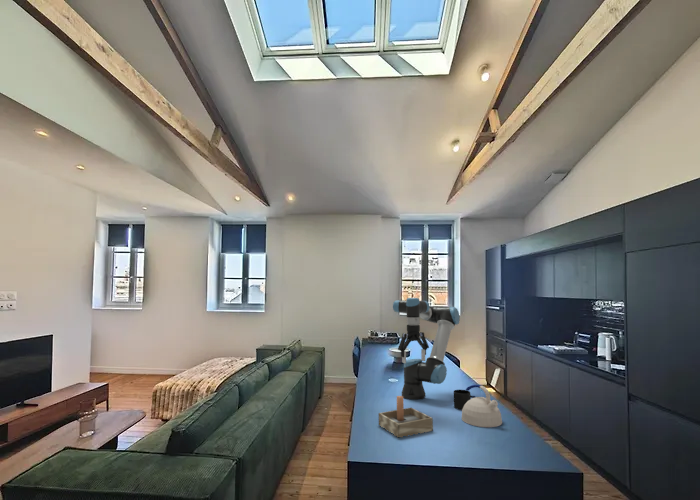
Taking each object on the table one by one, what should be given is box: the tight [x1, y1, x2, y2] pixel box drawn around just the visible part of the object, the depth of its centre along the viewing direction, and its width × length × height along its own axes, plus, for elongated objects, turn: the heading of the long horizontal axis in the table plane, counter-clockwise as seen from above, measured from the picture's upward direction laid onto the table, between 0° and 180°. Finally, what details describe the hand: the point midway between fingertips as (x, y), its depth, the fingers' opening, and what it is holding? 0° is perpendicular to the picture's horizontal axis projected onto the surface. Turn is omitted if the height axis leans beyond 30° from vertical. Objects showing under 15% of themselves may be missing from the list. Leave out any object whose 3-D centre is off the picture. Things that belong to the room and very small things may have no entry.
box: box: [378, 407, 434, 438], centre depth 189 cm, size 18×20×6 cm
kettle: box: [461, 384, 503, 428], centre depth 200 cm, size 20×21×18 cm
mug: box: [453, 389, 475, 411], centre depth 221 cm, size 9×12×9 cm
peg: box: [396, 395, 405, 421], centre depth 193 cm, size 3×3×14 cm
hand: (413, 361), depth 219 cm, fingers open, 13 cm apart
